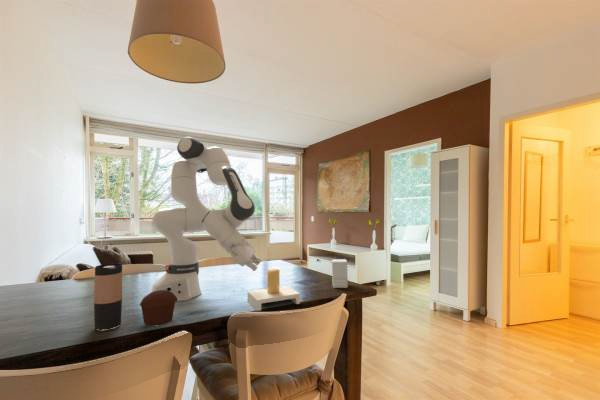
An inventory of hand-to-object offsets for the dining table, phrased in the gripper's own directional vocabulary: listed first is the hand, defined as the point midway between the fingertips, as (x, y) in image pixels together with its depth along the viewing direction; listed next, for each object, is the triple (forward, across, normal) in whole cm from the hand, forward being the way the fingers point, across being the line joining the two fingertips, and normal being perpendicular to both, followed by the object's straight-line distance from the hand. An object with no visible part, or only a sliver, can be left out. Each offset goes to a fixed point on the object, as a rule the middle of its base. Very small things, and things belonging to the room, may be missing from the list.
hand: (257, 266), depth 116 cm
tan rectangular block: (+12, 0, +3) cm, 12 cm away
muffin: (-12, -18, +33) cm, 39 cm away
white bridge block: (+15, 0, +6) cm, 16 cm away
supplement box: (+38, +23, -16) cm, 47 cm away
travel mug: (-22, -22, +43) cm, 53 cm away
